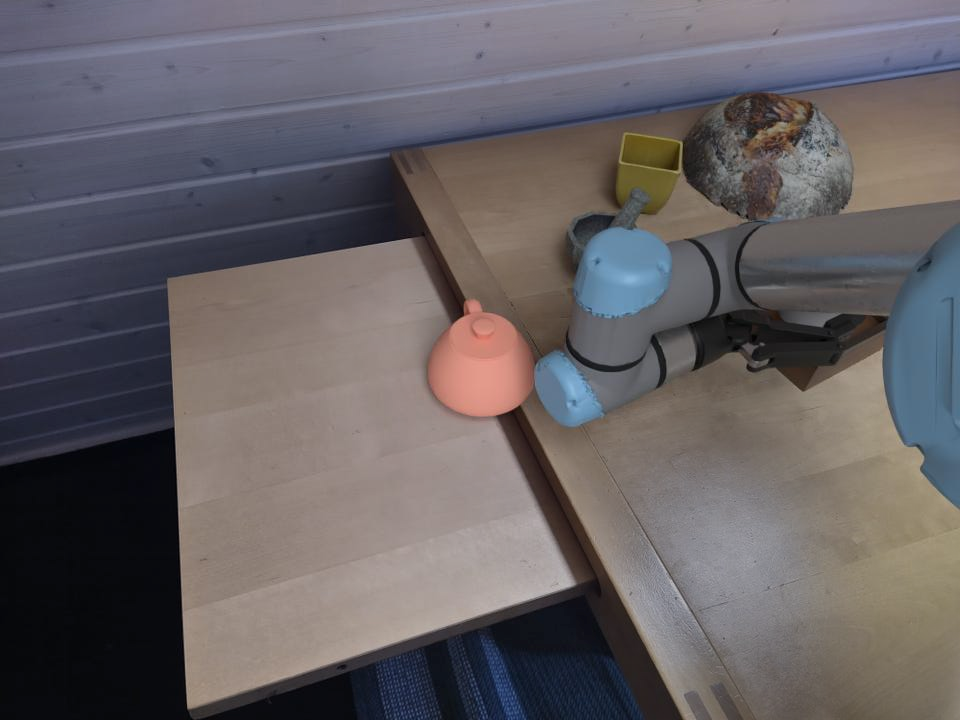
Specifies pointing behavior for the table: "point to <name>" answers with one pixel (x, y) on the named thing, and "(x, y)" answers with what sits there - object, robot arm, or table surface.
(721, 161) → the bread
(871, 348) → the brown wooden tray
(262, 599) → the table surface
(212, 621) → the table surface
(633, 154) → the flower pot
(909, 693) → the table surface
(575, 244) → the mortar and pestle
